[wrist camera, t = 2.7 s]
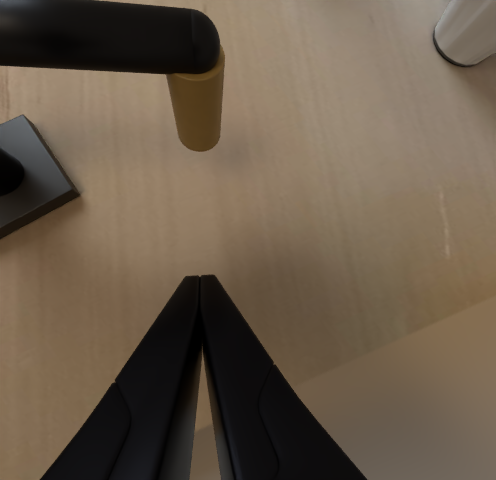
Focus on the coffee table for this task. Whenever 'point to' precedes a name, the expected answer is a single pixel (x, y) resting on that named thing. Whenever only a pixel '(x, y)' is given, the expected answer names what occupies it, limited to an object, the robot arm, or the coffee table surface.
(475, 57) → the cup
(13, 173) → the tap column
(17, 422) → the coffee table surface
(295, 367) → the coffee table surface
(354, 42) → the coffee table surface
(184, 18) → the spout
